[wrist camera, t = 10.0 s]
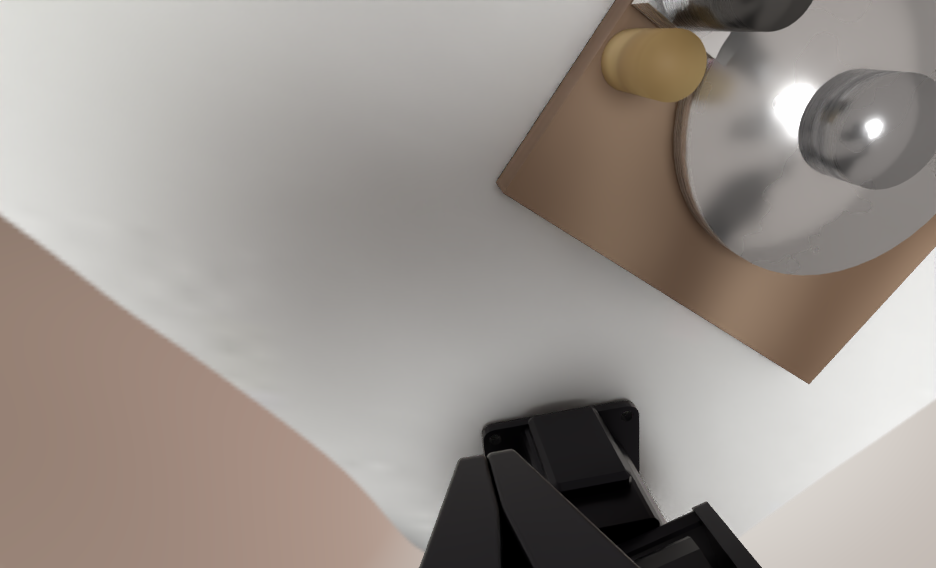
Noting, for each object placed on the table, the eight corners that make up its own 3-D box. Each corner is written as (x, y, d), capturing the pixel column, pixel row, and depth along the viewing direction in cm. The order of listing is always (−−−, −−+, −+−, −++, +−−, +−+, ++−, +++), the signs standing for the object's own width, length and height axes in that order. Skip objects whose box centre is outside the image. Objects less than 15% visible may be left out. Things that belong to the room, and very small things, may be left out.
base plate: (1073, 43, 21) (1238, 47, 17) (786, 365, 25) (863, 429, 21) (794, -273, 17) (928, -372, 13) (495, 182, 21) (523, 220, 17)
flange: (1026, 71, 20) (1210, 83, 15) (813, 309, 22) (917, 378, 18) (773, -205, 16) (922, -295, 11) (550, 123, 18) (601, 153, 14)
